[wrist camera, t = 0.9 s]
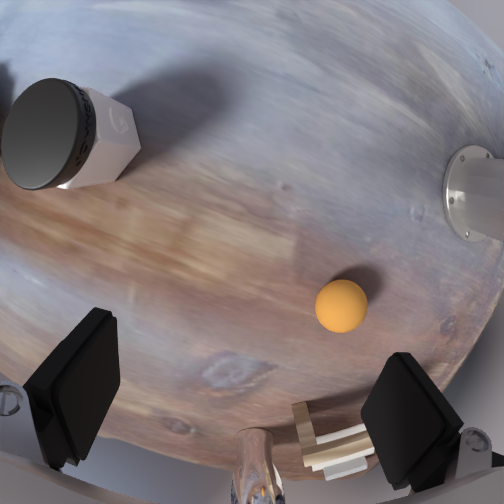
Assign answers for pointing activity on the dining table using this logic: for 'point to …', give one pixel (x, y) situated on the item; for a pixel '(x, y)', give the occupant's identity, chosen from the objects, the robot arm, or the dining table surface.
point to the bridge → (329, 449)
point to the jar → (66, 137)
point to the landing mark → (339, 435)
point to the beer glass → (256, 469)
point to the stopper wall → (345, 468)
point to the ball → (341, 306)
